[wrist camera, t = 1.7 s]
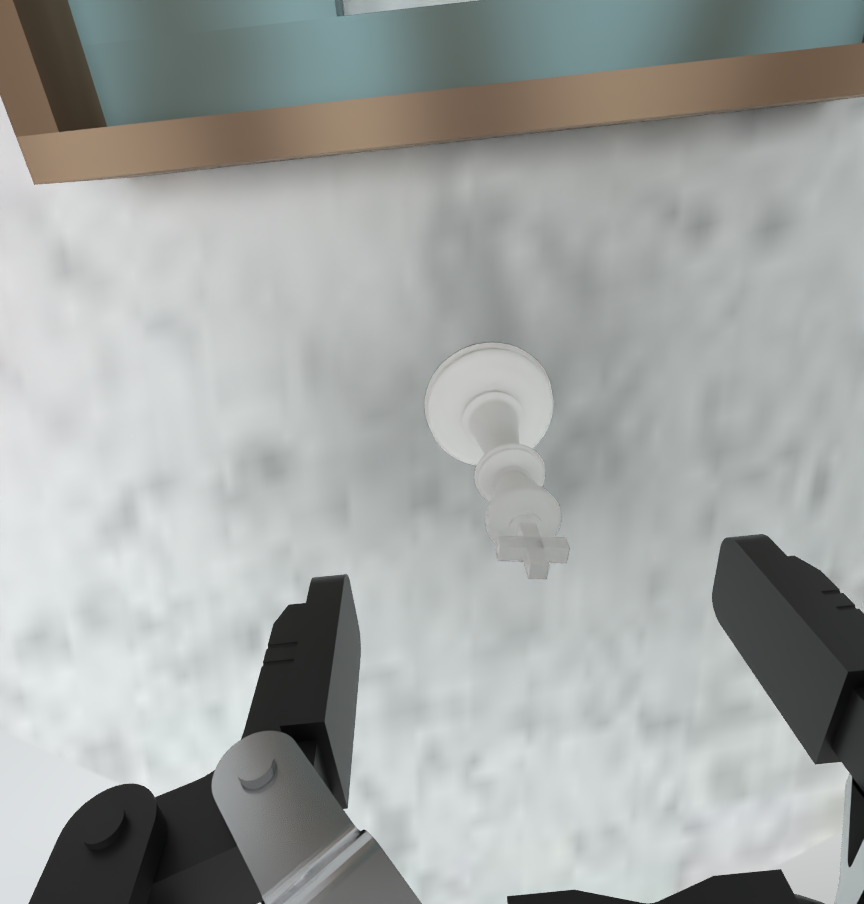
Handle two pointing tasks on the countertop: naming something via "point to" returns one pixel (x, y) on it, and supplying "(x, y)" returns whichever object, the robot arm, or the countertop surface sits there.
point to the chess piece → (501, 445)
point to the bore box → (390, 74)
